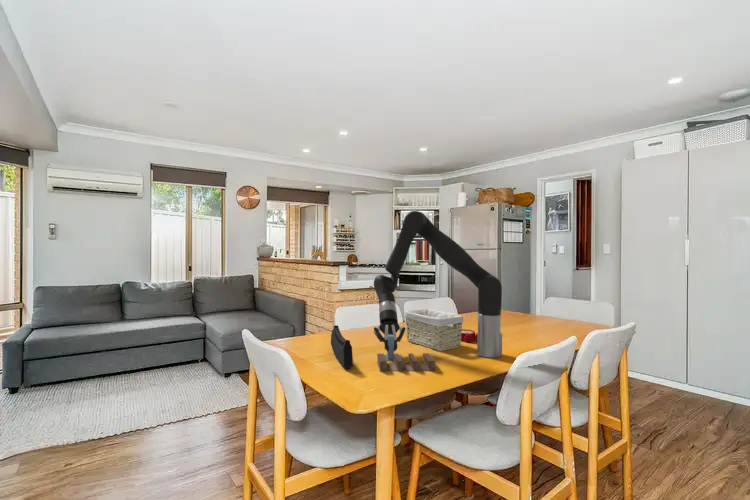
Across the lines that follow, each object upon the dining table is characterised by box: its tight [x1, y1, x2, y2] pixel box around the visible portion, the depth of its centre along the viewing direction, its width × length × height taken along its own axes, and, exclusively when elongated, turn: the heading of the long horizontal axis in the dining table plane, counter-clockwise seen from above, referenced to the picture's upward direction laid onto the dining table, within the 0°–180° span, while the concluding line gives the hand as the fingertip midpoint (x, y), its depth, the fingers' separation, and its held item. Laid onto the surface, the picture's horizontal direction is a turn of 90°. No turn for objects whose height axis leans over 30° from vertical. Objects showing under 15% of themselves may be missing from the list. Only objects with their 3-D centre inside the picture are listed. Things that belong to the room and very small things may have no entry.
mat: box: [384, 354, 405, 362], centre depth 157 cm, size 10×9×1 cm
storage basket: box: [404, 308, 464, 352], centre depth 181 cm, size 24×16×15 cm
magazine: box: [330, 324, 354, 369], centre depth 155 cm, size 17×3×30 cm
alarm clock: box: [458, 328, 478, 343], centre depth 192 cm, size 10×6×15 cm
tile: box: [386, 334, 395, 359], centre depth 157 cm, size 2×4×9 cm, turn 5°
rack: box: [376, 353, 436, 373], centre depth 145 cm, size 20×10×4 cm, turn 95°
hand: (391, 349), depth 155 cm, fingers closed on tile, 2 cm apart
